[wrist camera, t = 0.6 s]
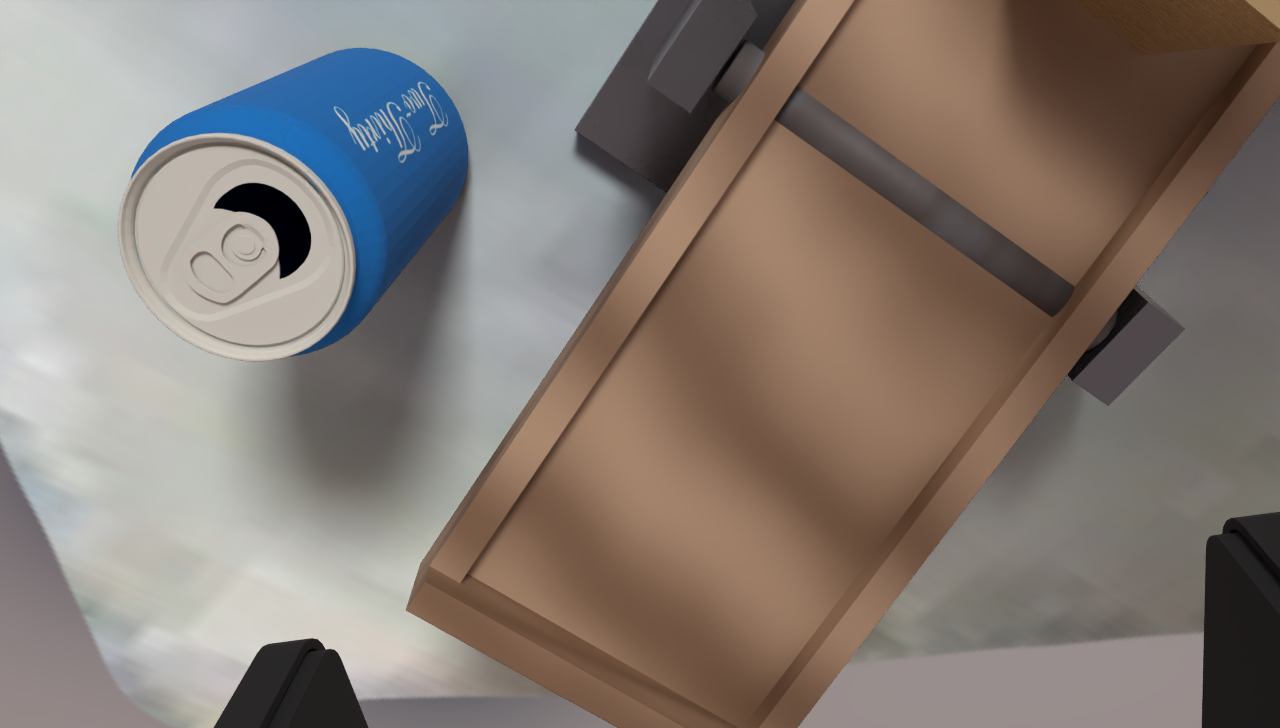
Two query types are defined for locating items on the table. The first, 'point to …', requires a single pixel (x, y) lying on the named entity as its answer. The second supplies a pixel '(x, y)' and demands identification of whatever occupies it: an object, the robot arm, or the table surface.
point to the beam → (827, 347)
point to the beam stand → (687, 108)
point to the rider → (1188, 23)
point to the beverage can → (291, 203)
